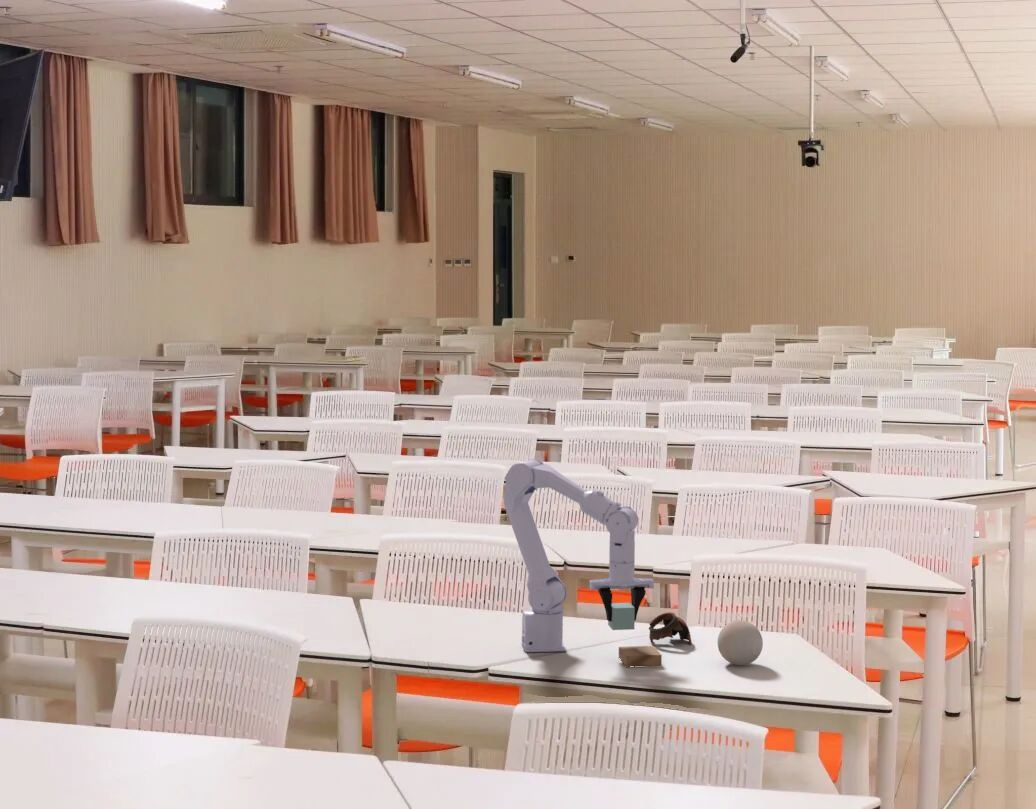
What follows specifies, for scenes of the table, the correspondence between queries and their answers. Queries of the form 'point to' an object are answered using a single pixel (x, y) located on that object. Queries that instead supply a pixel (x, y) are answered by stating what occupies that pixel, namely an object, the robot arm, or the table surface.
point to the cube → (622, 616)
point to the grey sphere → (740, 642)
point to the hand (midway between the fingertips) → (621, 620)
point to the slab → (640, 656)
